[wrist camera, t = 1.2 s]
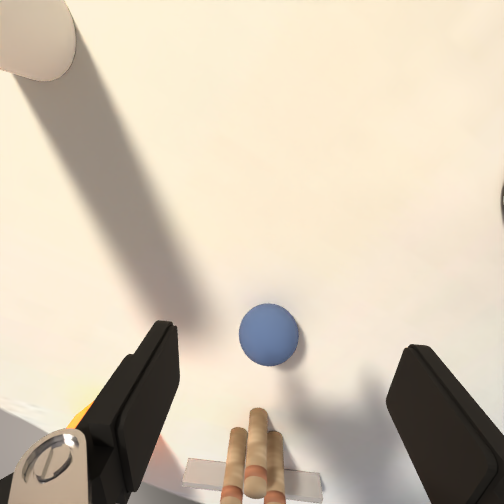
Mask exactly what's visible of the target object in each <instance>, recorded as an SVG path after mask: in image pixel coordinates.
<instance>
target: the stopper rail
mask: <svg viewBox="0 0 504 504" xmlns="http://www.w3.org/2000/svg"><path fill="white" fill-rule="evenodd" d="M245 467H246V465H245ZM225 468H226V463H225V462H216V461H208V460H199V459H191V458H189V459H188V462H187V466H186V470H185V473H184V477H183V481H182V485H183V487H189V488H197V489H206V490H214V491H222V488H223V482H224V475H225ZM244 474H245V468H244ZM284 484H285V498H286V499H288V500H296V501H305V502H313V503H321V504H322V501H323V495H322V489H321V482H320V475H319V473H311V472H302V471H294V470H285V469H284ZM243 494H244V480H243Z"/></svg>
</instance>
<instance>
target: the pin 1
mask: <svg viewBox="0 0 504 504" xmlns="http://www.w3.org/2000/svg"><path fill="white" fill-rule="evenodd" d="M246 444H247V431H246V430H245V429H243V428H240V427H236V428H233V429H232V430H231V433H230V440H229V447H228V454H227V461H226V468H225V475H224V482H223V488H222V493H221V500H220V502H221V503H220V504H242V498H243V480H244V468H245V456H246Z"/></svg>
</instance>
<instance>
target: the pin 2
mask: <svg viewBox="0 0 504 504" xmlns="http://www.w3.org/2000/svg"><path fill="white" fill-rule="evenodd" d="M264 504H286V498H285V484H284V461H283V438H282V435H281V434H280V433H279V432H276V431H271V432H268V433H267V494H266V496H265V497H264Z"/></svg>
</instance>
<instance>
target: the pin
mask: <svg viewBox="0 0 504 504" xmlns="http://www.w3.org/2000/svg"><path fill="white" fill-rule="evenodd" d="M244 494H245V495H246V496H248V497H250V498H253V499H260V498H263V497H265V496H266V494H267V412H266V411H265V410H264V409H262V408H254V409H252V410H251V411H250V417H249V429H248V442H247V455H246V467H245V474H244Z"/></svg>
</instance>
